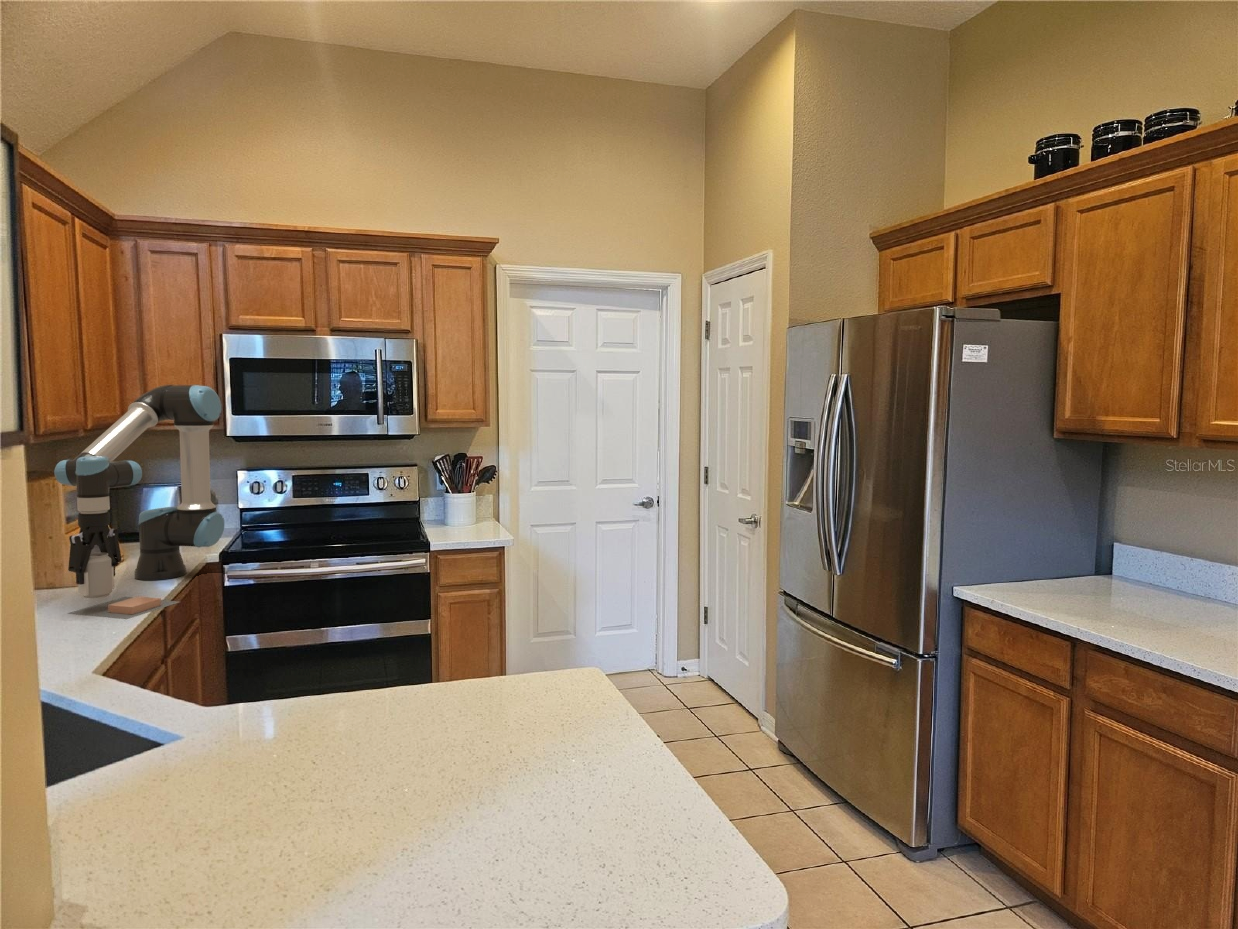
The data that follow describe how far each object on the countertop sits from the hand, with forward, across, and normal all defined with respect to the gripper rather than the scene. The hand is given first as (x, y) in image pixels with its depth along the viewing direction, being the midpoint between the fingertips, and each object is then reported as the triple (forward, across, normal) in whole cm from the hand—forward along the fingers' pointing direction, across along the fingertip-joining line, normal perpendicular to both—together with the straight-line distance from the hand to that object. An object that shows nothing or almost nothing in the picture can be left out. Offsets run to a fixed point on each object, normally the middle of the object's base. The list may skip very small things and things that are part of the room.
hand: (96, 591), depth 219 cm
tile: (+4, -8, +10) cm, 13 cm away
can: (+1, 0, 0) cm, 1 cm away
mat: (+6, -4, +6) cm, 9 cm away
